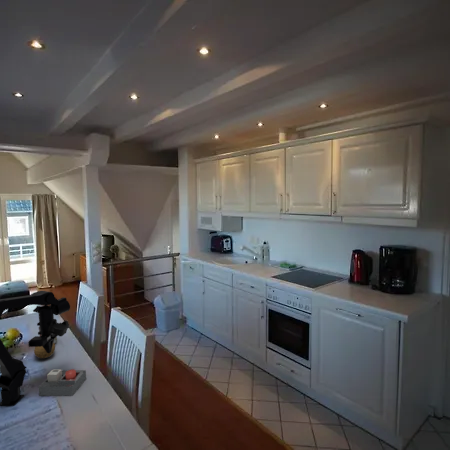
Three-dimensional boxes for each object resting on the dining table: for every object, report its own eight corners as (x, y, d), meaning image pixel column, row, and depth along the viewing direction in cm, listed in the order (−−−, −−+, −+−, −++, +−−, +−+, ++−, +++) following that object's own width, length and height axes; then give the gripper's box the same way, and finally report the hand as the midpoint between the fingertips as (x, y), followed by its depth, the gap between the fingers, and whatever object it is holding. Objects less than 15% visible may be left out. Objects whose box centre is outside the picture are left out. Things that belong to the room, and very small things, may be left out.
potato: (53, 348, 172) (52, 334, 171) (58, 358, 161) (57, 343, 160) (32, 354, 166) (31, 339, 165) (36, 365, 155) (34, 349, 154)
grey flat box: (72, 395, 130) (71, 384, 129) (39, 396, 130) (38, 384, 130) (86, 378, 141) (85, 368, 141) (55, 379, 142) (54, 368, 142)
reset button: (73, 385, 133) (72, 374, 133) (64, 385, 134) (63, 374, 133) (78, 379, 137) (77, 369, 137) (69, 379, 138) (68, 369, 137)
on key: (57, 385, 134) (56, 374, 133) (48, 385, 134) (47, 374, 133) (62, 380, 138) (61, 369, 137) (53, 380, 138) (52, 369, 137)
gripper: (52, 327, 131) (55, 363, 132) (74, 311, 150) (77, 342, 151) (25, 327, 131) (29, 363, 133) (51, 311, 150) (54, 343, 151)
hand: (49, 352), depth 142 cm, fingers closed
